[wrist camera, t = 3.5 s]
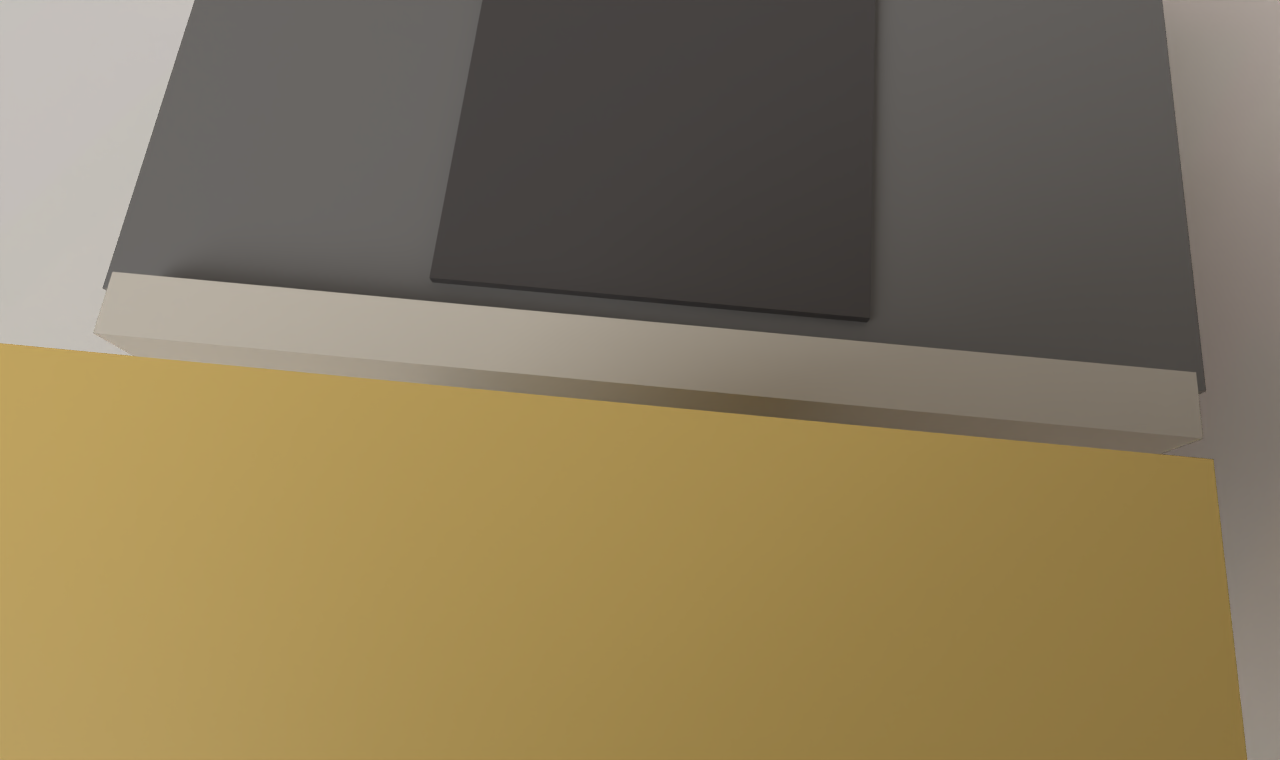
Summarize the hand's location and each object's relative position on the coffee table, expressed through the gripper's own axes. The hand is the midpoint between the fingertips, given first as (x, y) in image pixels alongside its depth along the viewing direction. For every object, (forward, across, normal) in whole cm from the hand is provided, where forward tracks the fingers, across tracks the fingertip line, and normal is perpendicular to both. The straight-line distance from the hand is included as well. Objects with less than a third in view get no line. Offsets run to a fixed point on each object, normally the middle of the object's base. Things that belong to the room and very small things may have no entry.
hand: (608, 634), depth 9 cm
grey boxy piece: (+8, 0, +2) cm, 8 cm away
